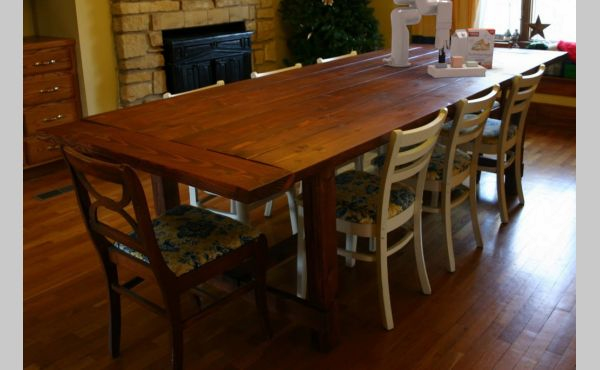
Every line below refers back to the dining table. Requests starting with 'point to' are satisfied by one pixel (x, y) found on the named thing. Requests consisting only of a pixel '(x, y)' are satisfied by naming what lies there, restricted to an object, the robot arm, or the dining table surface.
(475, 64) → the key sage
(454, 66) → the key terracotta
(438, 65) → the key slate
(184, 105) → the dining table surface
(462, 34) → the milk carton
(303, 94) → the dining table surface
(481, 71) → the white rectangular tray
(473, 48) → the cracker box
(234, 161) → the dining table surface
